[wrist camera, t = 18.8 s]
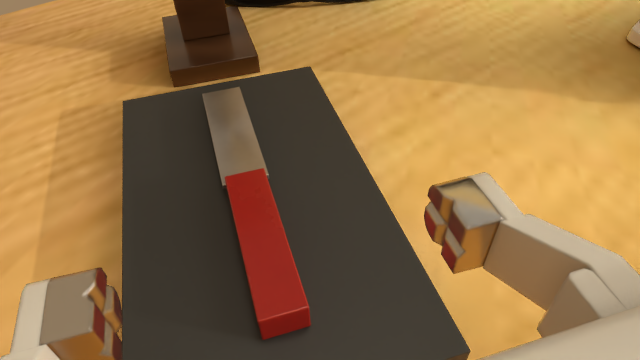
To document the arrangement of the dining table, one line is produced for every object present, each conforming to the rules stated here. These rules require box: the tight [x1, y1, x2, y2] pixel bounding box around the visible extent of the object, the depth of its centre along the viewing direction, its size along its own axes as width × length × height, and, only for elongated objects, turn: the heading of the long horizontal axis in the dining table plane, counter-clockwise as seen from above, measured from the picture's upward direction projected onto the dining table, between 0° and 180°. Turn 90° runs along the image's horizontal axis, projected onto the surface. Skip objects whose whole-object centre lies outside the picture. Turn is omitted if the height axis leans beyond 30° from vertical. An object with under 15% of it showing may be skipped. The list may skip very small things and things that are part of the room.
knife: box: [202, 87, 311, 340], centre depth 26 cm, size 18×3×2 cm, turn 17°
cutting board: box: [122, 67, 470, 360], centre depth 27 cm, size 24×14×2 cm, turn 17°
